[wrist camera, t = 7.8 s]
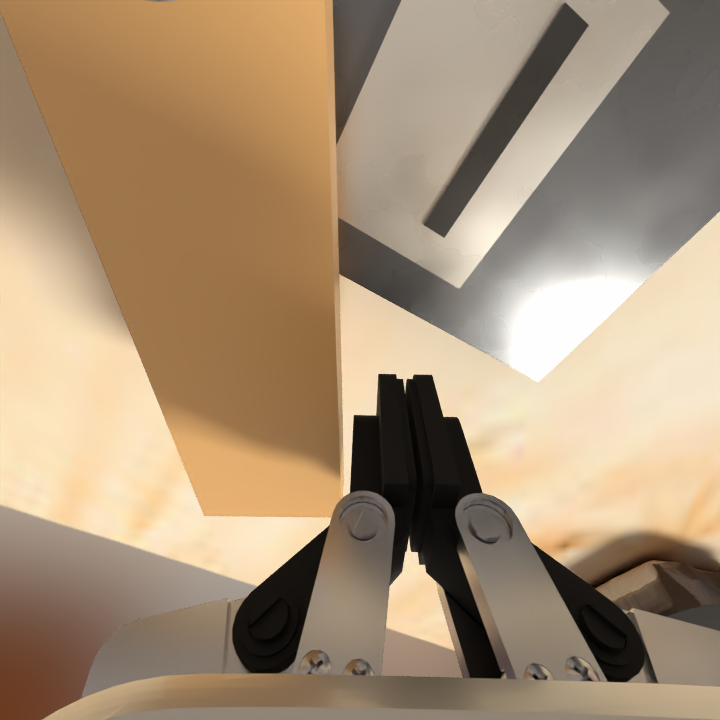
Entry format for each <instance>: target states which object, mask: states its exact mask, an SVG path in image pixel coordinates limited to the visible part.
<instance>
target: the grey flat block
mask: <svg viewBox="0 0 720 720" xmlns="http://www.w3.org/2000/svg"><path fill="white" fill-rule="evenodd" d="M333 39H334V80H335V122H336V164H337V205H338V247H339V274H341V275H342V276H344V277H346V278H348V279H350V280H352V281H353V282H355V283H357V284H359V285H361V286H363V287H364V288H366V289H368V290H370V291H372V292H374V293H376V294H377V295H379V296H381V297H383V298H385V299H387V300H388V301H390V302H392V303H394V304H396V305H398V306H399V307H401V308H403V309H405V310H407V311H409V312H410V313H412V314H414V315H416V316H418V317H420V318H422V319H423V320H425V321H427V322H429V323H431V324H433V325H434V326H436V327H438V328H440V329H442V330H444V331H445V332H447V333H449V334H451V335H453V336H455V337H456V338H458V339H460V340H462V341H464V342H466V343H468V344H469V345H471V346H473V347H475V348H477V349H479V350H480V351H482V352H484V353H486V354H488V355H490V356H491V357H493V358H495V359H497V360H499V361H501V362H503V363H504V364H506V365H508V366H510V367H512V368H514V369H515V370H517V371H519V372H521V373H523V374H525V375H526V376H528V377H530V378H532V379H534V380H536V381H537V382H539V381H540V380H541V379H542V378H543V377H544V376H545V375H546V374H547V373H548V372H549V371H550V370H551V369H552V368H554V367H555V366H556V365H557V364H558V363H559V362H560V361H561V360H562V359H563V358H564V357H565V356H566V355H567V354H568V353H569V352H571V351H572V350H573V349H574V348H575V347H576V346H577V345H578V344H579V343H580V342H581V341H582V340H583V339H584V338H585V337H587V336H588V335H589V334H590V333H591V332H592V331H593V330H594V329H595V328H596V327H597V326H598V325H599V324H600V323H601V322H602V321H604V320H605V319H606V318H607V317H608V316H609V315H610V314H611V313H612V312H613V311H614V310H615V309H616V308H617V307H618V306H619V305H621V304H622V303H623V302H624V301H625V300H626V299H627V298H628V297H629V296H630V295H631V294H632V293H633V292H634V291H635V290H636V289H638V288H639V287H640V286H641V285H642V284H643V283H644V282H645V281H646V280H647V279H648V278H649V277H650V276H651V275H652V274H653V273H655V272H656V271H657V270H658V269H659V268H660V267H661V266H662V265H663V264H664V263H665V262H666V261H667V260H668V259H669V258H670V257H672V256H673V255H674V254H675V253H676V252H677V251H678V250H679V249H680V248H681V247H682V246H683V245H684V244H685V243H686V242H687V241H689V240H690V239H691V238H692V237H693V236H694V235H695V234H696V233H697V232H698V231H699V230H700V229H701V228H702V227H703V226H704V225H706V224H707V223H708V222H709V221H710V220H711V219H712V218H713V217H714V216H715V215H716V214H717V213H718V212H719V211H720V0H333Z"/></svg>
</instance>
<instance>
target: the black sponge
mask: <svg viewBox="0 0 720 720" xmlns="http://www.w3.org/2000/svg"><path fill="white" fill-rule="evenodd" d="M595 589H596V590H597V591H599V592H600V593H601V594H603V595H604V596H605V597H607V598H608V599H610V600H611V601H612V602H613V603H614V604H616V605H617V606H618V607H619V608H620V609H622V610H626V611H630V610H631V609H632V608H635V609H638V610H642V611H646V612H650V613H654V614H657V615H661V616H665V617H669V618H672V619H676V620H680V621H684V622H687V623H691V624H695V625H699V626H702V627H706V628H710V629H714V630H717V631H720V572H713V571H706V570H699V569H695V568H693V567H691V566H688V565H686V564H685V563H682V562H680V561H672V562H665V561H657V560H652V561H648V562H646V563H644V564H642V565H640V566H638V567H636V568H634V569H632V570H630V571H628V572H626V573H624V574H622V575H619V576H617V577H615V578H613V579H611V580H610V581H608V582H606V583H604V584H602V585H600V586H599V587H597V588H595Z"/></svg>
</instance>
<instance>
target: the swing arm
mask: <svg viewBox="0 0 720 720" xmlns="http://www.w3.org/2000/svg"><path fill="white" fill-rule="evenodd" d="M0 12H1V15H2V17H3V19H4V22H5V24H6V27H7V29H8V32H9V34H10V37H11V39H12V42H13V44H14V47H15V49H16V52H17V54H18V57H19V59H20V62H21V64H22V66H23V69H24V71H25V74H26V76H27V79H28V81H29V84H30V86H31V89H32V91H33V94H34V96H35V99H36V101H37V104H38V106H39V109H40V111H41V113H42V116H43V118H44V121H45V123H46V126H47V128H48V131H49V133H50V136H51V138H52V141H53V143H54V146H55V148H56V151H57V153H58V156H59V158H60V160H61V163H62V165H63V168H64V170H65V173H66V175H67V178H68V180H69V183H70V185H71V188H72V190H73V193H74V195H75V198H76V200H77V203H78V205H79V207H80V210H81V212H82V215H83V217H84V220H85V222H86V225H87V227H88V230H89V232H90V235H91V237H92V240H93V242H94V245H95V247H96V250H97V252H98V254H99V257H100V259H101V262H102V264H103V267H104V269H105V272H106V274H107V277H108V279H109V282H110V284H111V287H112V289H113V292H114V294H115V297H116V299H117V301H118V304H119V306H120V309H121V311H122V314H123V316H124V319H125V321H126V324H127V326H128V329H129V331H130V334H131V336H132V339H133V341H134V344H135V346H136V348H137V351H138V353H139V356H140V358H141V361H142V363H143V366H144V368H145V371H146V373H147V376H148V378H149V381H150V383H151V386H152V388H153V391H154V393H155V396H156V398H157V400H158V403H159V405H160V408H161V410H162V413H163V415H164V418H165V420H166V423H167V425H168V428H169V430H170V433H171V435H172V438H173V440H174V443H175V445H176V447H177V450H178V452H179V455H180V457H181V460H182V462H183V465H184V467H185V470H186V472H187V475H188V477H189V480H190V482H191V485H192V487H193V490H194V492H195V494H196V497H197V499H198V502H199V504H200V507H201V509H202V512H203V514H204V516H254V517H332V514H333V511H334V509H335V507H336V504H337V503H338V502H339V501H340V500H341V499H342V498H343V485H344V456H343V414H342V372H341V331H340V289H339V247H338V205H337V164H336V122H335V80H334V39H333V0H0Z"/></svg>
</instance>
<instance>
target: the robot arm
mask: <svg viewBox="0 0 720 720" xmlns="http://www.w3.org/2000/svg"><path fill="white" fill-rule="evenodd" d="M409 538H410V547H411V551H412V552H418V557H419V565H425V566H426V572H427V573H428V574H429V575H430V576H431V577H432V578H433V579H434V580H435V581H436V583H437V590H438V594H439V597H440V601H441V604H442V607H443V611H444V614H445V618H446V621H447V625H448V628H449V632H450V635H451V639H452V642H453V646H454V649H455V652H456V655H457V659H458V663H459V666H460V670H461V673H462V677H463V678H449V677H411V676H381V675H382V664H383V653H384V642H385V630H386V619H387V608H388V597H389V586H390V585H391V584H392V583H393V581H394V580H395V579H396V578H397V577H398V576H399V575H400V573H401V572H402V569H403V562H404V556H405V552H406V551H407V545H408V539H409ZM43 720H720V631H717V630H714V629H710V628H706V627H702V626H699V625H695V624H691V623H687V622H684V621H680V620H676V619H672V618H669V617H665V616H661V615H657V614H654V613H650V612H646V611H642V610H638V609H635V608H632V609H631V610H630V611H626V610H622V609H620V608H619V607H618V606H617V605H616V604H614V603H613V602H612V601H611V600H610V599H608V598H607V597H605V596H604V595H603V594H601V593H600V592H599V591H597V590H596V589H594V588H593V587H592V586H590V585H589V584H588V583H586V582H585V581H583V580H582V579H581V578H579V577H578V576H577V575H575V574H574V573H572V572H571V571H570V570H568V569H567V568H566V567H564V566H563V565H561V564H560V563H559V562H557V561H556V560H555V559H553V558H552V557H550V556H549V555H548V554H546V553H545V552H544V551H542V550H541V549H539V548H538V547H537V546H535V545H534V544H533V543H531V541H530V539H529V538H528V536H527V534H526V532H525V530H524V528H523V527H522V525H521V523H520V521H519V519H518V518H517V516H516V515H515V513H514V512H513V511H512V509H511V508H510V507H509V506H508V505H506V504H505V503H504V502H503V501H501V500H500V499H498V498H496V497H494V496H491V495H488V494H484V493H482V489H481V486H480V483H479V480H478V477H477V474H476V471H475V468H474V464H473V461H472V458H471V455H470V452H469V449H468V446H467V443H466V439H465V436H464V433H463V430H462V427H461V424H460V421H459V419H458V418H457V417H443V414H442V410H441V406H440V403H439V399H438V395H437V391H436V388H435V384H434V380H433V377H432V375H414V376H413V379H407V382H406V390H405V391H404V384H403V379H397V377H396V374H379V375H378V393H377V413H376V416H367V415H354V423H353V444H352V465H351V485H350V493H349V494H348V495H346V496H345V497H343V498H342V499H341V500H340V501H339V502H338V503H337V504H336V507H335V509H334V511H333V514H332V518H331V522H330V525H329V526H328V527H327V528H326V529H325V530H324V531H322V532H321V533H320V534H319V535H318V536H316V537H315V538H314V539H313V540H312V541H311V542H309V543H308V544H307V545H306V546H305V547H304V548H302V549H301V550H300V551H299V552H298V553H297V554H295V555H294V556H293V557H292V558H291V559H290V560H288V561H287V562H286V563H285V564H284V565H283V566H281V567H280V568H279V569H278V570H277V571H275V572H274V573H273V574H272V575H271V576H270V577H268V578H267V579H266V580H265V581H264V582H263V583H261V584H260V585H259V586H258V587H257V588H256V589H254V590H253V591H252V592H251V593H250V594H249V595H248V597H246V598H242V599H238V600H234V601H229V599H228V598H226V599H222V600H218V601H213V602H209V603H205V604H200V605H196V606H192V607H188V608H184V609H180V610H175V611H171V612H167V613H162V614H158V615H154V616H150V617H145V618H141V619H137V620H135V621H132V622H130V623H128V624H125V625H124V626H122V627H121V628H120V629H118V630H117V631H116V632H115V633H113V634H112V635H111V636H110V637H109V638H108V640H107V641H106V642H105V643H104V645H103V646H102V647H101V649H100V650H99V652H98V654H97V656H96V658H95V660H94V662H93V664H92V667H91V670H90V673H89V676H88V679H87V682H86V685H85V688H84V691H83V695H82V698H81V699H80V700H78V701H76V702H74V703H72V704H70V705H68V706H66V707H64V708H62V709H60V710H58V711H56V712H54V713H53V714H51V715H49V716H48V717H46V718H44V719H43Z"/></svg>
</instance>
